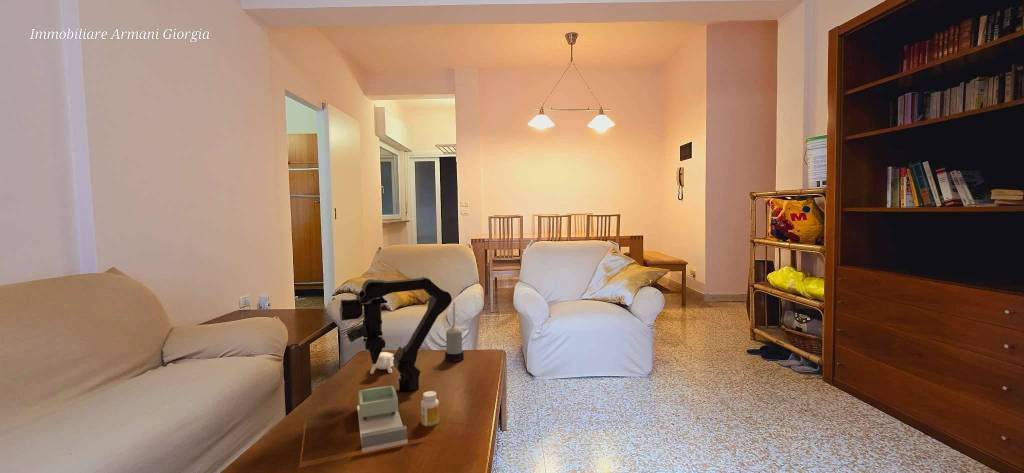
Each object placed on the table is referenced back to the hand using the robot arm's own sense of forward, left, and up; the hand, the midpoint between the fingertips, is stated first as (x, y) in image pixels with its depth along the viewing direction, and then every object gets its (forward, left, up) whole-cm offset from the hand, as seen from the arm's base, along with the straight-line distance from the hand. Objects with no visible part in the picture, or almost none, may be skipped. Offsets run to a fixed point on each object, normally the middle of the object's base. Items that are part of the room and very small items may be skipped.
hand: (373, 361), depth 150 cm
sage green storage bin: (0, +13, -12) cm, 18 cm away
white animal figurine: (-5, -26, -13) cm, 29 cm away
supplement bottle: (-14, +25, -13) cm, 32 cm away
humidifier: (-36, -28, -13) cm, 47 cm away
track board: (0, +19, -13) cm, 23 cm away
